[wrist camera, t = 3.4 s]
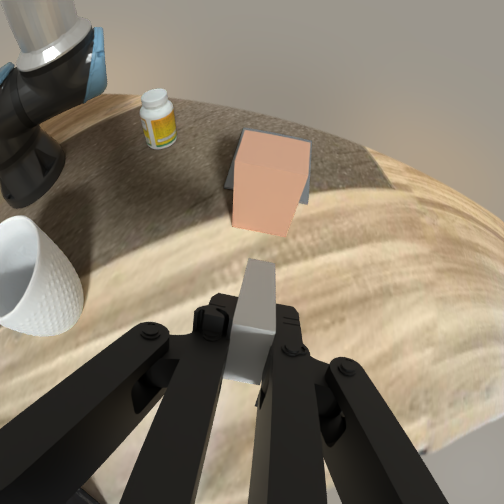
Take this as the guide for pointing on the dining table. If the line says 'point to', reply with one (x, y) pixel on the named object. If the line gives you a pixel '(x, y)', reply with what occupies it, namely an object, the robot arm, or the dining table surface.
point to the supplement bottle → (158, 119)
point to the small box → (81, 498)
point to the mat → (230, 178)
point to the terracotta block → (268, 182)
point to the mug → (36, 281)
